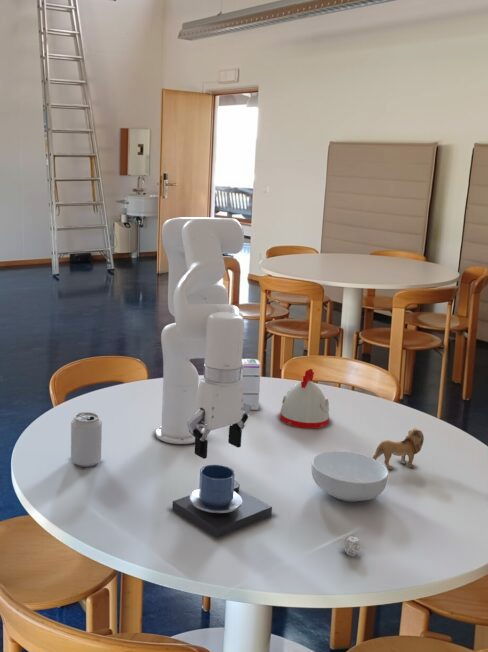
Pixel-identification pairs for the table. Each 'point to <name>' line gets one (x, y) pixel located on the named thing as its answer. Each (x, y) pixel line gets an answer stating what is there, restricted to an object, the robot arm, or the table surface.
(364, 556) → the table surface
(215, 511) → the pan
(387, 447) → the lion figurine
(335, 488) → the cereal bowl
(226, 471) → the blue cup
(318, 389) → the kitchen timer
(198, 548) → the table surface
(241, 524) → the scale
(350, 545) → the game die
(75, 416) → the can
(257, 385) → the syrup box
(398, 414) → the table surface
